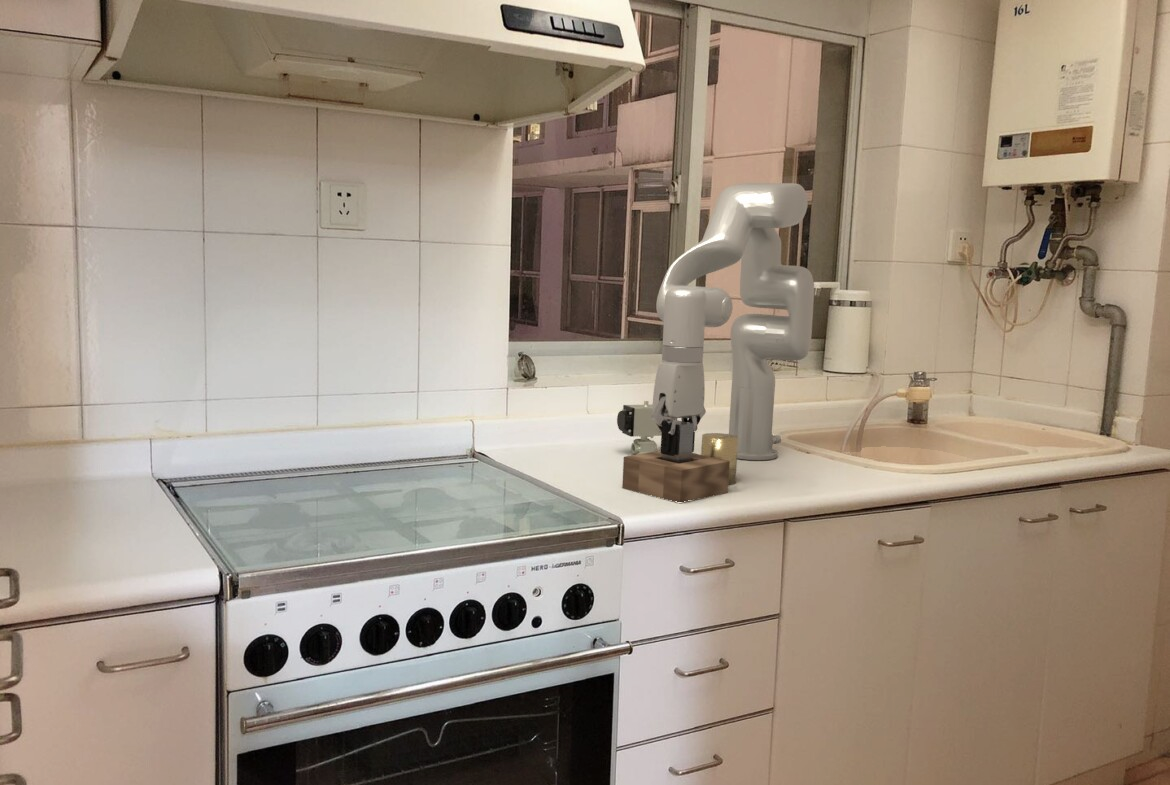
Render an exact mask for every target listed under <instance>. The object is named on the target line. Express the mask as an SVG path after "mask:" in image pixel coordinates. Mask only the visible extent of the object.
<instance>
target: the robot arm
mask: <svg viewBox="0 0 1170 785" xmlns="http://www.w3.org/2000/svg"><path fill="white" fill-rule="evenodd" d="M808 203H809V202H808V195H807V192H806V190H805V188H804V187H803V186H802V185H801V184H799V183H796V182H795V183H794V182H772V183H771V182H746V183H745V182H743V183H737V184H734V185H730V186H728V187H726V188H725V189H723V190H722V191H721V193H720V194H719V195H718V198H717V200H716V203H715V205H714V208H713V211H712V213H711V216H710V219H709V221H708V223H707V226H706V229H705V230H704V235H703V237H702V239H701V241H700V242H698V243H696V244H695V245H693V246H692V247H690V248H688V249H687V250H686V251H684V252H683V253H681V255H680V256H679V257H677V258H676V259H674V260H673V262H672V263H671V264H670V266H669V267H668V269H667V271H666V273H665V275H664V277H663V280H662V283H661V285H660V287H659V291H658V294H657V296H656V297H657V298H656V305H655V306H656V313H657V315H658V318H659V320H661V322H663V331H662V348H661V350H662V352H661V362H659V363H658V367H657V370H656V375H655V379H654V380H655V381H654V386H653V394H652V404H653V406H652V411H653V414H652V417H651V418H652V420H653V421H654V422H655V423H656V424H657V426H658V427H659V432H660V433H661V436H660V437H661V438H660V451H661V453H662V454H665V455H670V456H675V454H676V439H677V435H676V434H674V432H675V428H676V423H677V420H678V419H681V420H680V421H684V422H690V423H694V429H693V446H692V453H694V452H695V436H696V432H697V431H698V425H699V423H700V421H701V419H702V418H703V417H704V416H705V415H706V413H707V411H706V408H705V395H706V394H705V371H704V370H705V369H704V364H703V362H704V346H705V344H704V342H705V328H719V327H722V326H723V325H725V324H726V323H727V322H728V321H729V320H730V318H731V316H732V313H733V300H732V297H731V296H730V293H728V292H727V291H726V290H724V289H722V288H719V287H713V286H698V285H689V284H691V283H692V282H693V281H695V280H697V279H699V278H701V277H702V276H705V275H708V274H711V273H715V272H719V271H720V270H723V269H726V268H728V267H731V266H733V265H735V264H737V263H738V262H739V261H741V262H740V276H739V278H740V279H739V293H740V294H739V295H740V299H741V302H742V303H743V305H746V306H748V307H751V308H756V309H757V308H759V309H769V310H771V309H772V310H773V309H774V310H785V311H787V313H788V316H787V315H777V314H776V315H775V314H764V313H746V314H742V315H739V316H738V317H736V319H734V320H733V322H732V324H731V326H730V332H729V333H730V344H731V353H732V354H731V356H732V359H731V360H732V373H731V374H732V375H731V376H732V377H731V389H730V390H731V391H730V406H729V407H730V408H729V420H728V421H729V424H728V434H731V435H735V436H737V437H738V450H737V460H738V459H740V460H747V461H749V460H750V461H767V460H774V459H776V458H777V457H778V451H777V450H776V449H773V445H776V444H777V445H778V444H781V441H782V437H781V435H778V434H776V435H774V434H773V421H774V420H773V419H774V418H773V417H774V406H775V391H776V377H775V373H774V370H773V369H772V367H771V366H770V364H769V362H768V361H767V359H769V360H770V359H772V360H783V361H784V360H785V361H801V360H803V359H806V357H807V356H808V353H809V352H810V349H811V345H812V344H811V343H812V335H813V334H812V331H813V314H814V302H815V301H814V299H815V283H814V279H813V278H814V277H813V274H812V273H811V271H810V270H809V269H808V268H806V267H804V266H800V265H785V264H782V258H781V257H782V239H781V238H780V235H779V233H778V232H777V230H776V229H783V228H789V227H793V226H795V225H798V224H799V223H801V222H802V221H803V219H804V218H805V215H806V214H807V209H808ZM667 420H671V421H670V425H669V424H668V422H667Z"/></svg>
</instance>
